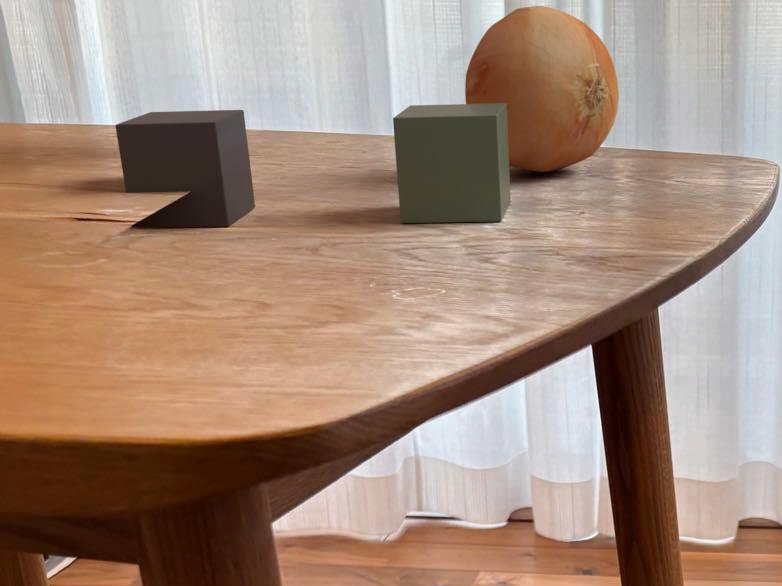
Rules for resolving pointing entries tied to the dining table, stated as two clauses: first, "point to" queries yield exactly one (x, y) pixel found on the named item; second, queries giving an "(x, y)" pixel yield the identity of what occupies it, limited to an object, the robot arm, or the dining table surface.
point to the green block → (452, 163)
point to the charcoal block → (189, 165)
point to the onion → (546, 86)
